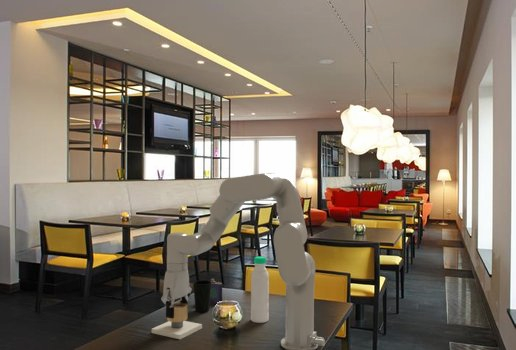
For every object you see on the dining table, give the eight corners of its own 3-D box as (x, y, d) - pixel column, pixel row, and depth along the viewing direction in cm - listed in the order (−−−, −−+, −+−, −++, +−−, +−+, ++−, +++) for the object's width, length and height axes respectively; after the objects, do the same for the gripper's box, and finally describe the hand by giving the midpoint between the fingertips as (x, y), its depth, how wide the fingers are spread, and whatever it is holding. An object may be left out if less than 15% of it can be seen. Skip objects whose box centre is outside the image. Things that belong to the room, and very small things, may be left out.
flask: (201, 302, 204) (201, 278, 204) (203, 301, 207) (204, 277, 207) (221, 304, 202) (221, 280, 202) (223, 302, 205) (223, 278, 205)
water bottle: (266, 324, 176) (267, 259, 176) (249, 322, 178) (249, 258, 178) (270, 318, 183) (270, 255, 183) (252, 317, 185) (253, 255, 184)
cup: (189, 311, 191) (189, 283, 191) (199, 307, 198) (200, 279, 198) (204, 314, 187) (204, 285, 187) (214, 309, 194) (215, 281, 194)
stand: (202, 328, 171) (202, 305, 171) (180, 339, 160) (180, 315, 160) (174, 322, 178) (174, 300, 177) (151, 332, 166) (151, 309, 166)
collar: (191, 317, 170) (191, 304, 170) (178, 323, 164) (178, 309, 164) (175, 314, 174) (175, 301, 174) (163, 320, 167) (163, 306, 167)
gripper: (183, 261, 178) (183, 307, 178) (153, 270, 163) (153, 319, 163) (199, 263, 174) (199, 310, 175) (169, 272, 159) (169, 323, 159)
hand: (176, 314), depth 169 cm, fingers closed on collar, 7 cm apart
